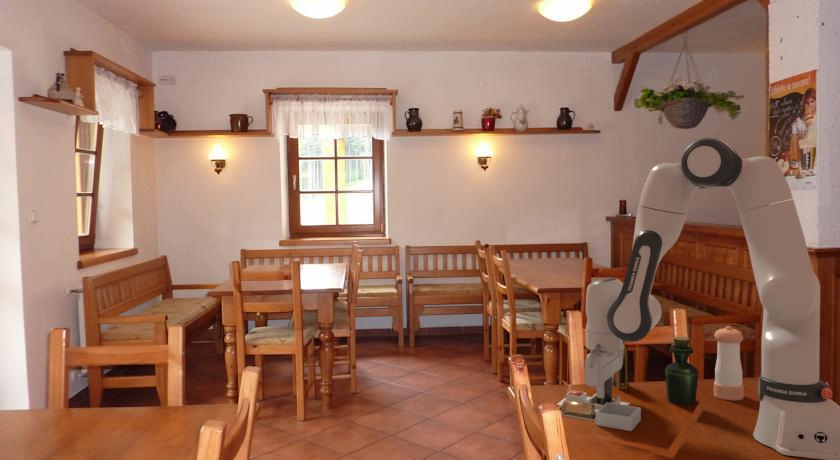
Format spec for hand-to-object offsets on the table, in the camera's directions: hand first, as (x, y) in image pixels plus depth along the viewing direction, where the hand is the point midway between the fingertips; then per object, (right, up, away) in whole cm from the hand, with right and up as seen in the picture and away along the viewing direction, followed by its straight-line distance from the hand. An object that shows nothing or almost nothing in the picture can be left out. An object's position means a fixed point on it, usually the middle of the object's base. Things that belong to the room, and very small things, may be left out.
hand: (604, 394), depth 163 cm
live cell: (-8, -4, -5) cm, 10 cm away
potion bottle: (+21, -4, +2) cm, 21 cm away
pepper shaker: (+36, -3, +10) cm, 38 cm away
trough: (-8, -5, -5) cm, 11 cm away
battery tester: (-2, -4, +2) cm, 5 cm away
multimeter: (+13, -3, +17) cm, 22 cm away
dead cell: (0, -3, 0) cm, 3 cm away
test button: (-6, -2, +4) cm, 8 cm away
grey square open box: (0, -5, -12) cm, 13 cm away
